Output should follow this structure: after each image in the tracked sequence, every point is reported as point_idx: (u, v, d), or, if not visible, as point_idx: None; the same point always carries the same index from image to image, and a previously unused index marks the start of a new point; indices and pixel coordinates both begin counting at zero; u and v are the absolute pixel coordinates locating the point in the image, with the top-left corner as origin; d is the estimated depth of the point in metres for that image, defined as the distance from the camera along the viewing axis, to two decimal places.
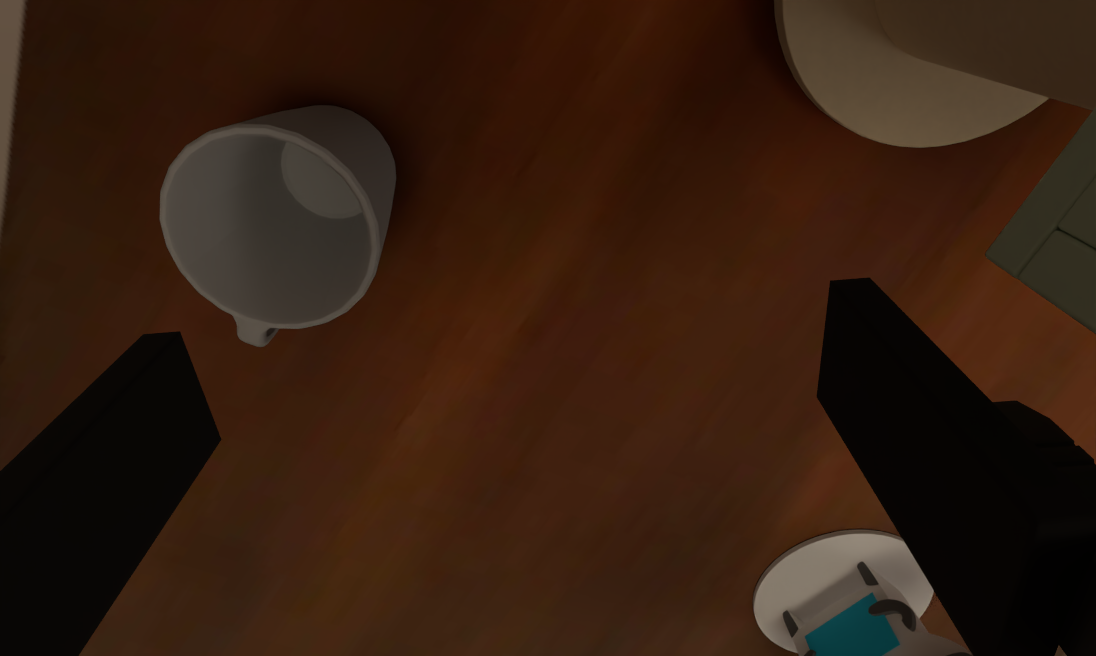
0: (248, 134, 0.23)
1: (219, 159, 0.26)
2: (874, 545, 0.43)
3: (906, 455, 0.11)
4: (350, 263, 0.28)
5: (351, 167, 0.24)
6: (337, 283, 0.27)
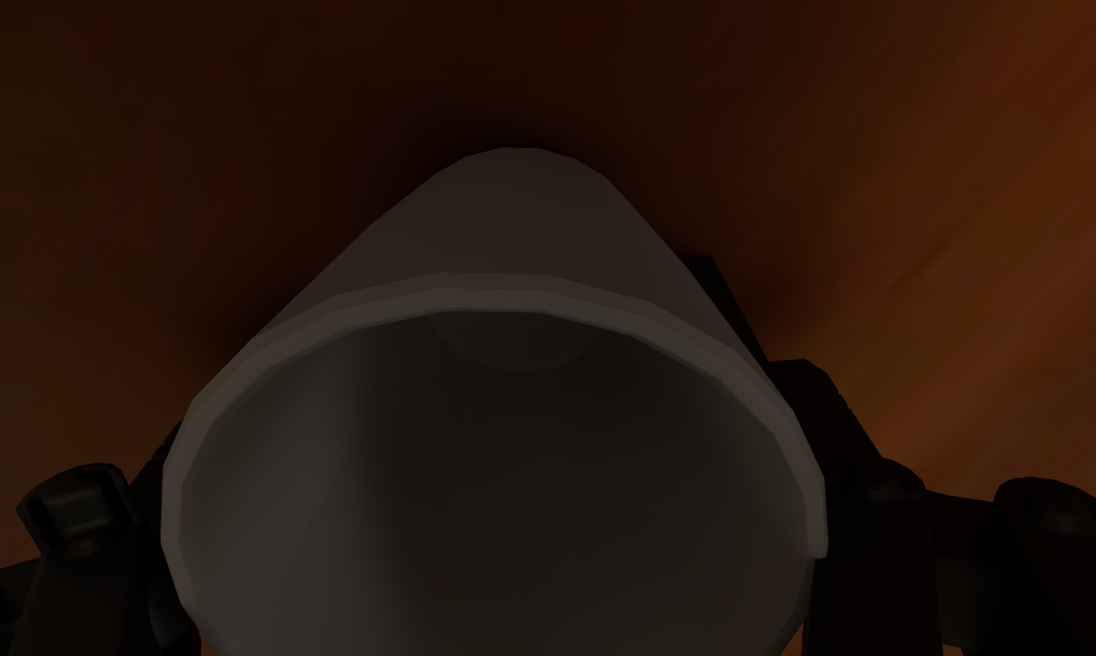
0: (478, 309, 0.06)
1: None
2: None
3: None
4: (612, 531, 0.12)
5: (778, 391, 0.07)
6: (602, 603, 0.11)
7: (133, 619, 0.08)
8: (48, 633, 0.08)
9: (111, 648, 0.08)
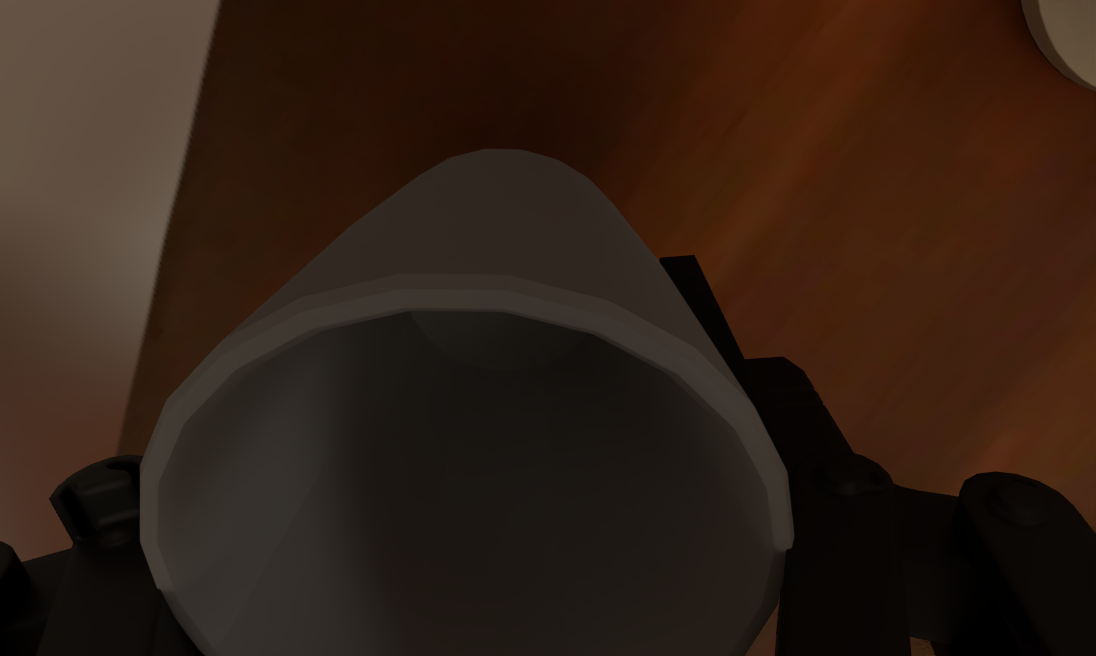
0: (440, 309, 0.07)
1: None
2: None
3: None
4: (594, 527, 0.12)
5: (740, 386, 0.08)
6: (582, 597, 0.11)
7: (162, 611, 0.08)
8: (79, 621, 0.08)
9: (140, 639, 0.08)
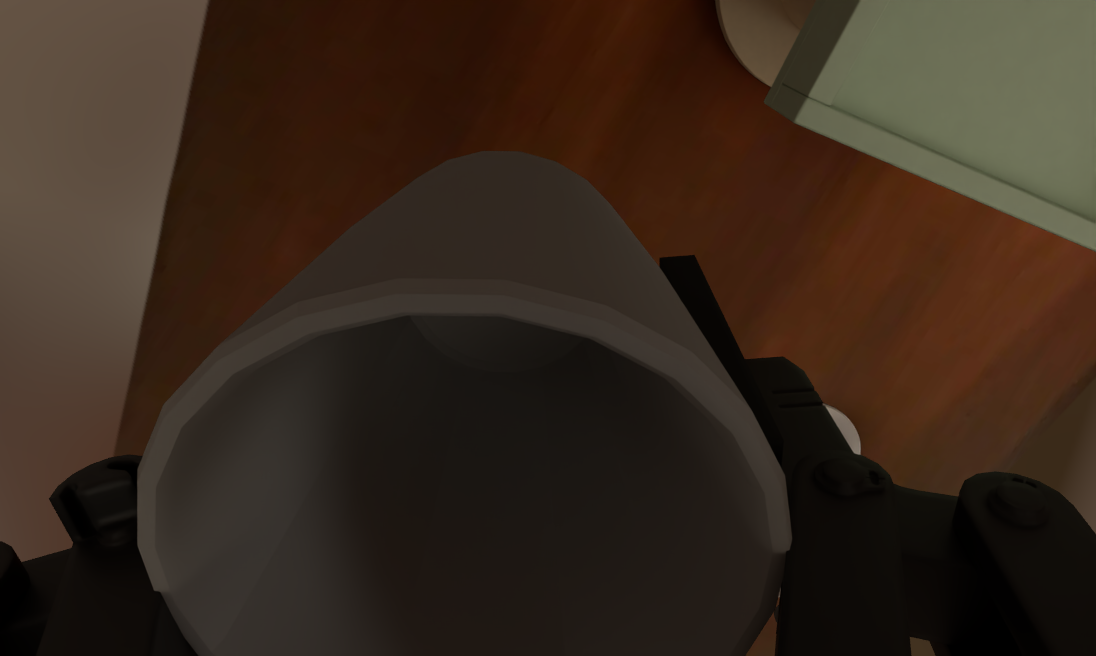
0: (437, 313, 0.07)
1: None
2: None
3: None
4: (592, 529, 0.12)
5: (738, 390, 0.08)
6: (580, 600, 0.11)
7: (162, 611, 0.08)
8: (79, 621, 0.08)
9: (140, 639, 0.08)
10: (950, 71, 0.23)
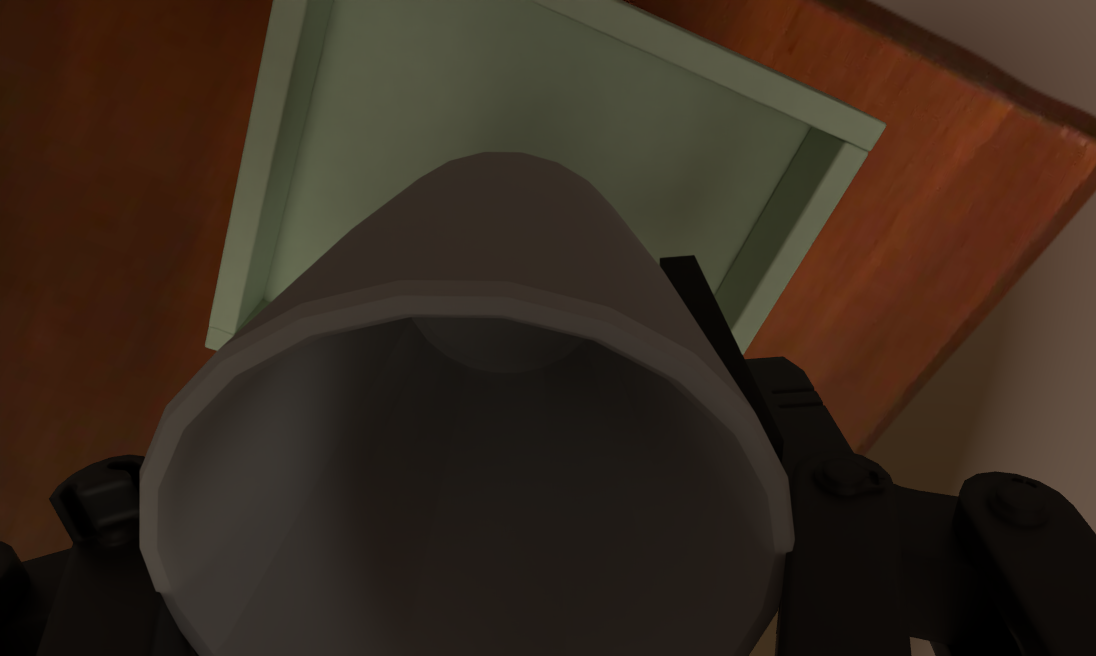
0: (440, 315, 0.07)
1: None
2: None
3: None
4: (594, 530, 0.12)
5: (741, 392, 0.08)
6: (582, 601, 0.11)
7: (162, 611, 0.08)
8: (79, 622, 0.08)
9: (140, 640, 0.08)
10: None
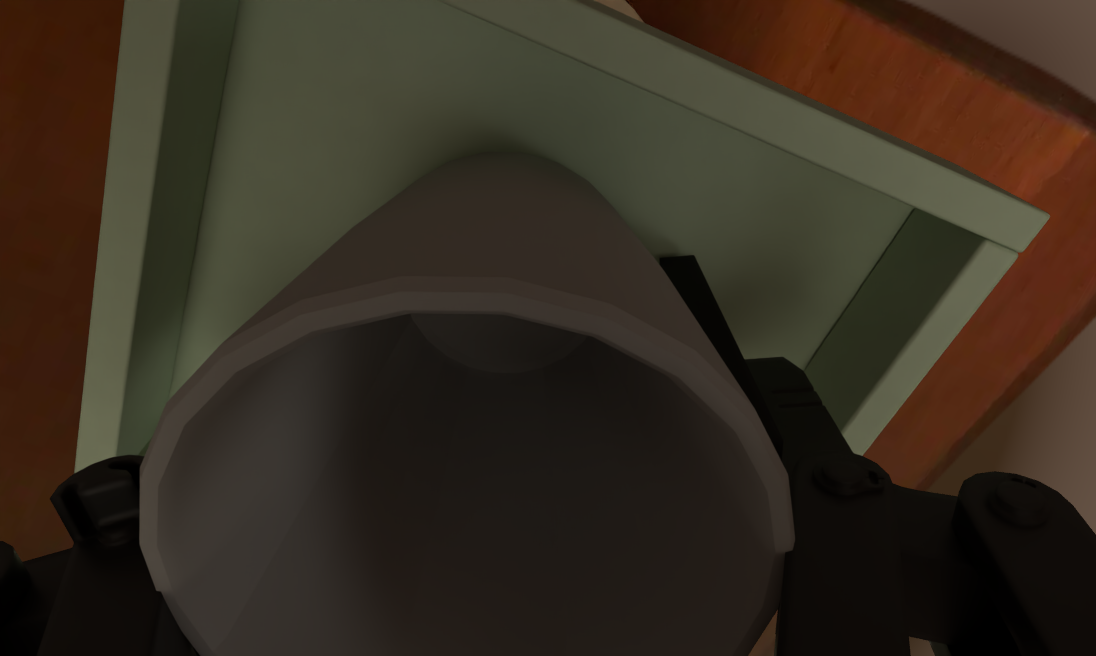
0: (440, 311, 0.07)
1: None
2: None
3: None
4: (594, 530, 0.12)
5: (741, 389, 0.08)
6: (582, 601, 0.11)
7: (162, 611, 0.08)
8: (80, 621, 0.08)
9: (141, 639, 0.08)
10: None
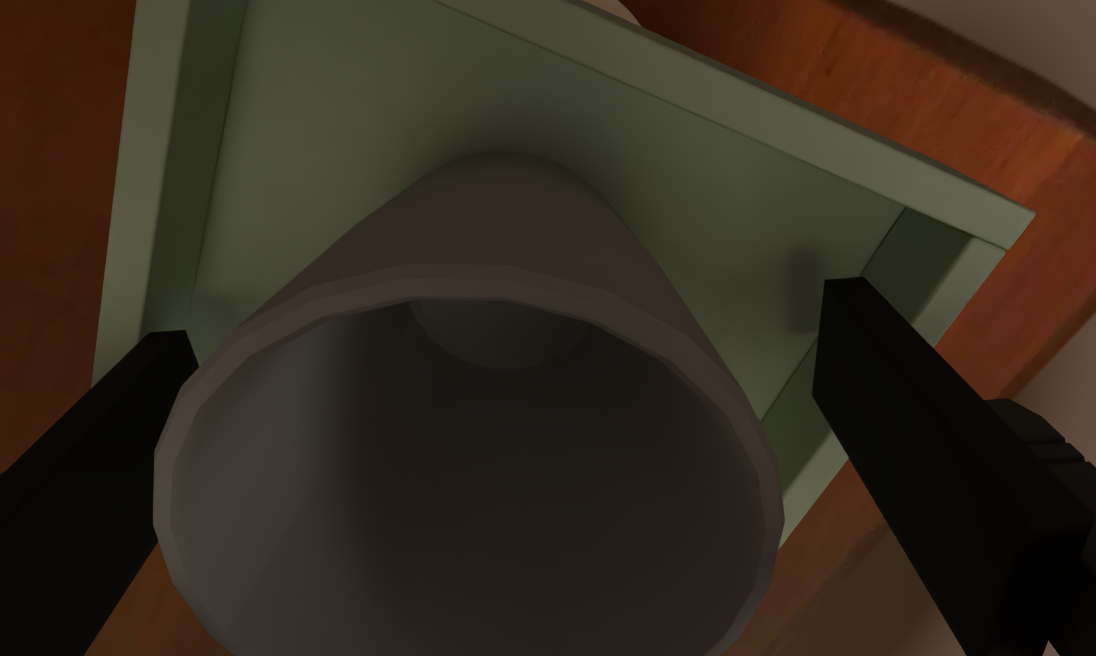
0: (444, 297, 0.07)
1: None
2: None
3: (899, 452, 0.11)
4: (592, 519, 0.12)
5: (732, 374, 0.08)
6: (580, 587, 0.11)
7: None
8: None
9: None
10: None
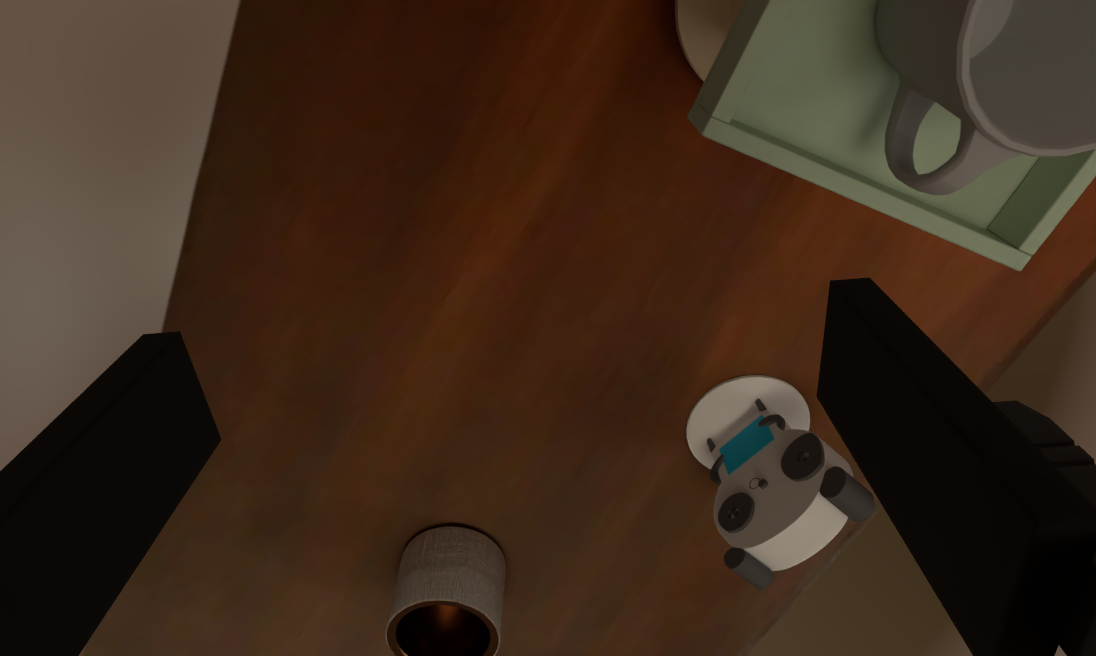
0: None
1: None
2: (766, 386, 0.63)
3: (905, 454, 0.11)
4: (1056, 94, 0.24)
5: None
6: (1068, 111, 0.23)
7: None
8: None
9: None
10: (828, 96, 0.29)
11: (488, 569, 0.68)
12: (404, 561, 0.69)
